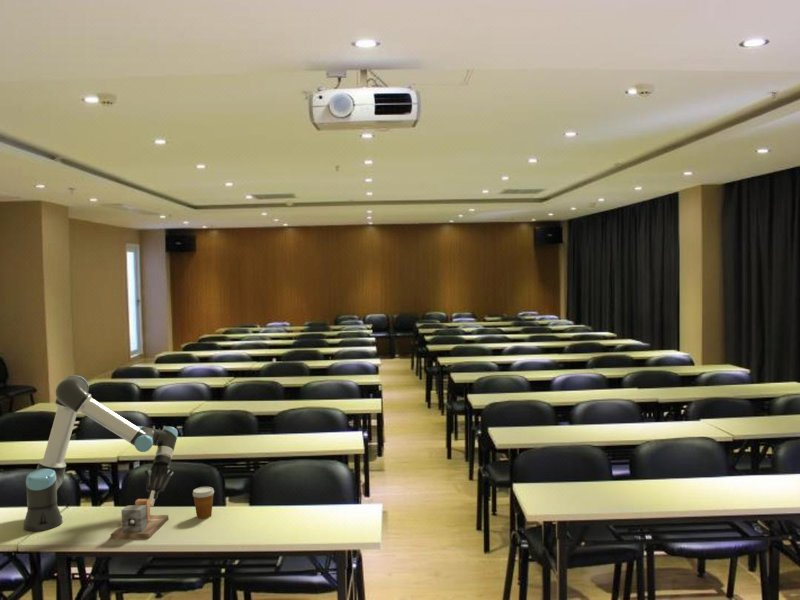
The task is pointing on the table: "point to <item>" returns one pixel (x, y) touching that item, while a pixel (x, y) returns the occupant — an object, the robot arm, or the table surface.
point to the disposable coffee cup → (203, 501)
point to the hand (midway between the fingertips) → (150, 505)
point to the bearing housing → (138, 523)
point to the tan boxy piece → (146, 502)
